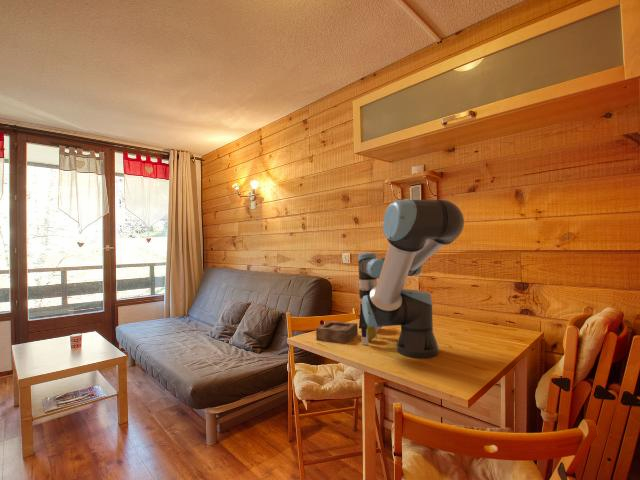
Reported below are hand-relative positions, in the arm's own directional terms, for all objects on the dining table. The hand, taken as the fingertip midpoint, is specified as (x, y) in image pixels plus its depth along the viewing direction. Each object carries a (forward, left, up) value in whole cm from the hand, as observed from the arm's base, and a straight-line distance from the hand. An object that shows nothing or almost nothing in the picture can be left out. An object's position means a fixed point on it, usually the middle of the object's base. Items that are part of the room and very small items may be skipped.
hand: (369, 340), depth 139 cm
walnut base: (+15, 0, 0) cm, 15 cm away
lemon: (0, 0, 0) cm, 0 cm away
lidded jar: (+4, -17, 0) cm, 17 cm away
